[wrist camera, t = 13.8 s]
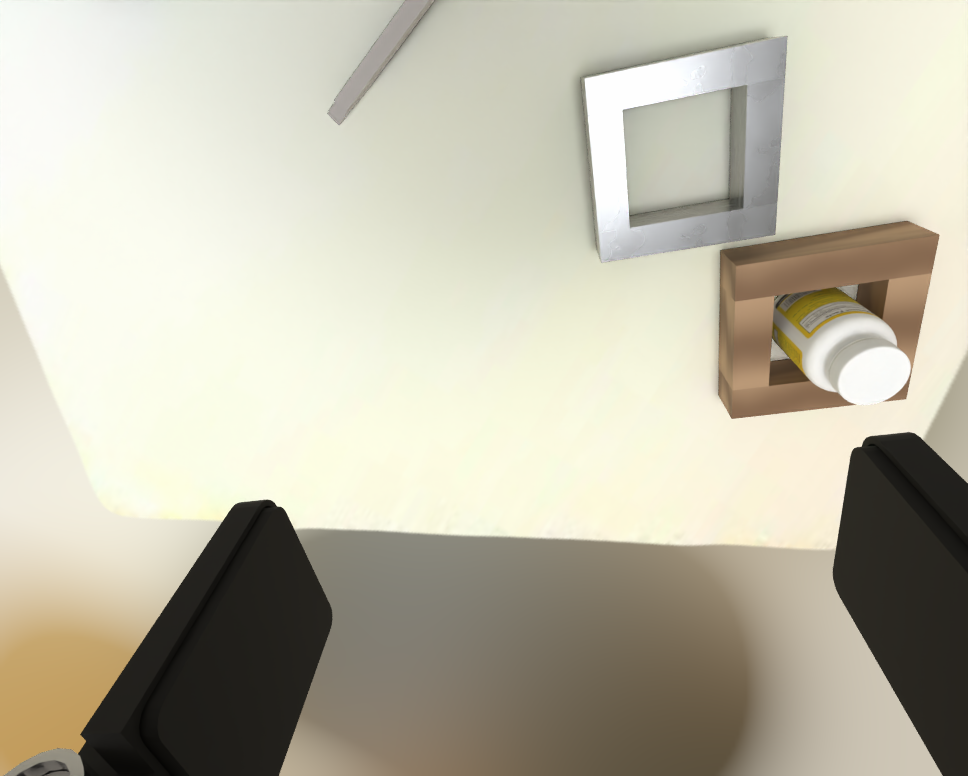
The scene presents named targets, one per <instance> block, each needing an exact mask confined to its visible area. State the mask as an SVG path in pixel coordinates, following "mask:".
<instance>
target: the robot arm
mask: <svg viewBox="0 0 968 776" xmlns="http://www.w3.org/2000/svg"><path fill="white" fill-rule="evenodd" d="M833 580H834V583H835V587H836V590H837V592H838V594H839V596H840V598H841V600H842V601H843V603H844V605H845V607H846V608H847V610H848V612H849V614H850V615H851V617H852V619H853V621H854V622H855V624H856V626H857V628H858V629H859V631H860V633H861V634H862V636H863V638H864V640H865V641H866V643H867V645H868V647H869V648H870V650H871V652H872V654H873V655H874V657H875V659H876V660H877V662H878V664H879V666H880V667H881V669H882V671H883V673H884V674H885V676H886V678H887V680H888V681H889V683H890V685H891V687H892V688H893V690H894V692H895V694H896V695H897V697H898V699H899V701H900V702H901V704H902V706H903V707H904V709H905V711H906V713H907V714H908V716H909V718H910V719H911V721H912V723H913V725H914V727H915V728H916V730H917V732H918V734H919V735H920V737H921V739H922V740H923V742H924V744H925V745H926V747H927V749H928V751H929V753H930V754H931V756H932V758H933V760H934V761H935V763H936V765H937V767H938V768H939V770H940V772H941V773H942V775H943V776H968V483H967V482H966V481H964V479H962V478H961V477H960V476H959V475H958V474H957V473H956V472H955V471H954V470H953V469H952V468H951V467H950V466H949V465H948V464H947V463H946V462H945V461H944V460H943V459H942V458H941V457H940V456H939V455H937V453H936V452H935V451H934V450H932V448H930V447H929V446H928V445H927V444H926V443H925V442H924V441H923V440H922V439H921V438H920V437H919V436H917V435H916V434H915V433H910V432H907V433H897V434H888V435H878V436H870V437H867V438H866V439H865V440H864V442H863V444H862V447H857V448H854V449H853V451H852V453H851V457H850V463H849V470H848V476H847V483H846V489H845V495H844V502H843V508H842V515H841V521H840V527H839V534H838V540H837V547H836V554H835V559H834V566H833ZM331 625H332V609H331V607H330V604H329V602H328V600H327V598H326V595H325V593H324V591H323V589H322V587H321V585H320V583H319V581H318V579H317V576H316V575H315V572H314V570H313V568H312V566H311V564H310V562H309V560H308V558H307V555H306V553H305V551H304V549H303V547H302V545H301V543H300V541H299V539H298V537H297V534H296V532H295V530H294V528H293V526H292V524H291V522H290V520H289V518H288V515H287V513H286V512H285V510H284V509H283V508H282V507H277V506H276V504H275V503H274V502H273V501H271V500H259V501H250V502H240V503H237V504H235V505H234V506H233V507H232V508H231V510H230V511H229V513H228V514H227V516H226V517H225V519H224V520H223V522H222V523H221V525H220V526H219V528H218V529H217V531H216V532H215V534H214V535H213V537H212V538H211V540H210V541H209V543H208V544H207V546H206V547H205V549H204V550H203V552H202V553H201V555H200V556H199V558H198V559H197V561H196V562H195V564H194V565H193V567H192V568H191V570H190V571H189V573H188V574H187V576H186V577H185V579H184V580H183V582H182V583H181V585H180V586H179V588H178V589H177V591H176V592H175V594H174V595H173V597H172V598H171V600H170V601H169V603H168V604H167V606H166V607H165V608H164V610H163V611H162V613H161V615H160V616H159V617H158V619H157V620H156V622H155V624H154V625H153V627H152V628H151V629H150V631H149V633H148V634H147V635H146V637H145V638H144V640H143V641H142V643H141V644H140V646H139V647H138V649H137V650H136V652H135V653H134V655H133V656H132V658H131V659H130V661H129V662H128V664H127V665H126V667H125V669H124V670H123V671H122V673H121V674H120V676H119V677H118V679H117V680H116V682H115V683H114V685H113V686H112V688H111V689H110V691H109V692H108V694H107V695H106V697H105V698H104V700H103V701H102V703H101V704H100V706H99V707H98V709H97V710H96V712H95V713H94V715H93V716H92V718H91V719H90V721H89V722H88V724H87V725H86V727H85V728H84V730H83V731H82V733H81V734H80V735H81V736H82V737H83V738H84V739H85V740H86V743H85V744H84V746H83V747H82V749H81V750H80V752H79V753H78V754H77V753H75V752H74V751H73V750H71V749H60V748H57V749H53V750H50V751H46V752H42V753H40V754H38V755H36V756H34V757H32V758H30V759H28V760H26V761H24V762H22V763H21V764H19V765H18V766H16V767H15V768H14V769H12V770H11V771H9V772H8V773H7V774H5V775H4V776H279V773H280V770H281V767H282V765H283V762H284V759H285V756H286V753H287V751H288V748H289V745H290V742H291V739H292V736H293V734H294V731H295V728H296V725H297V722H298V719H299V717H300V714H301V711H302V708H303V705H304V702H305V700H306V697H307V694H308V691H309V688H310V685H311V682H312V679H313V677H314V674H315V671H316V668H317V665H318V663H319V660H320V657H321V654H322V651H323V648H324V646H325V643H326V640H327V637H328V634H329V632H330V629H331Z"/></svg>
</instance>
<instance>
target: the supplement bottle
mask: <svg viewBox="0 0 968 776" xmlns="http://www.w3.org/2000/svg"><path fill="white" fill-rule="evenodd" d="M772 338H773V340H774V341H775V342H776V343H777V344H778V346H779V347H780V348H781V349H782V350H783V351H784V352H785V353H786V354H787V355H788V357H789V358H790V359H791V360H792V361H793V362H794V363H795V364H796V365H797V366H798V368H799V369H800V370H801V371H802V372H803V373H804V374H805V375H806V376H807V378H808V379H809V380H810V381H811V382H813V383H814V384H815V385H816V386H818V387H820V388H822V389H824V390H827V391H831V392H838V393H839V394H840V395H841V396H842V397H843V398H844V399H845V400H847V401H848V402H850V403H853V404H857V405H872V404H876V403H880V402H882V401H885V400H887V399H889V398H890V397H892V396H893V395H895V394H896V393H897V392H899V391H900V390H901V389H902V387H903V386H904V385H905V383H906V382H907V380H908V378H909V375H910V371H911V365H910V361H909V359H908V357H907V355H906V354H905V353H904V352H903V351H901V350H900V349H899V348H898V347H897V340H896V336H895V334H894V332H893V330H892V329H891V328H890V327H889V325H888V324H886V323H885V322H884V321H883V320H882V319H880V318H879V317H878V316H876V315H875V314H873V313H872V312H870V311H869V310H868V309H866V308H865V307H863V306H862V305H861V304H859V303H858V302H856V301H855V300H854V299H852V298H851V297H849V296H848V295H846V294H845V293H844V292H842V291H841V290H839V289H838V288H836V287H833V288H827V289H820V290H813V291H806V292H799V293H792V294H785V295H779V296H778V297H777V299H776V300H775V301H774V310H773V326H772Z"/></svg>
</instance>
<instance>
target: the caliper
mask: <svg viewBox="0 0 968 776" xmlns="http://www.w3.org/2000/svg"><path fill="white" fill-rule="evenodd" d="M433 2H434V0H405V1H404V3H403V4H402V6H401V7H400V8H399V10H398V11H397V13H396V14H395V15H394V17H393V18H392V20H391V21H390V22H389V24H388V25H387V27H386V28H385V29H384V31H383V32H382V34H381V35H380V36H379V38H378V39H377V41H376V42H375V43H374V45H373V46H372V48H371V49H370V50H369V52H368V53H367V55H366V56H365V57H364V59H363V60H362V62H361V63H360V64H359V66H358V67H357V69H356V70H355V71H354V73H353V74H352V76H351V77H350V78H349V80H348V81H347V83H346V84H345V86H344V87H343V88H342V90H341V91H340V93H339V94H338V95H337V97H336V98H335V100H334V101H335V102H334V104H333V105H332V107H331V108H330V109H329V112H328V113H327V114H328V115H329V116H330V117H331V118H332V119H333V120H334V121H335V122H336V123H337V124H338V125H340V124H341V123H342V121H343V120H344V119H345V117H346V116H347V115H348V113H349V112H350V111H351V110H352V109H353V108H354V106H355V105H356V104H357V103H358V101H359V100H360V99H361V98H362V96H363V95H364V94H365V93H366V91H367V90H368V89H369V87H370V86H371V85H372V83H373V82H374V81H375V79H376V78H377V77H378V75H379V74H380V73H381V71H382V70H383V69H384V67H385V66H386V65H387V63H388V62H389V61H390V59H391V58H392V57H393V55H394V54H395V53H396V51H397V50H398V48H399V47H400V46H401V44H402V43H403V42H404V40H405V39H406V38H407V36H408V35H409V34H410V32H411V31H412V30H413V28H414V27H415V26H416V24H417V23H418V22H419V20H420V19H421V18H422V16H423V15H424V14H425V12H426V11H427V10H428V8H429V7H430V6H431V4H432V3H433Z"/></svg>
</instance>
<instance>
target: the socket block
mask: <svg viewBox="0 0 968 776" xmlns="http://www.w3.org/2000/svg"><path fill="white" fill-rule="evenodd" d="M786 51H787V36H782V37H771V38H765V39H760V40H755V41H750V42H746V43H741V44H736V45H732V46H727V47H722V48H717V49H713V50H708V51H703V52H699V53H694V54H689V55H684V56H680V57H675V58H670V59H665V60H661V61H656V62H651V63H647V64H642V65H637V66H632V67H628V68H623V69H618V70H614V71H609V72H604V73H599V74H595V75H590V76H585V77H581V87H582V98H583V108H584V119H585V130H586V140H587V151H588V162H589V172H590V183H591V193H592V204H593V215H594V225H595V236H596V247H597V252H598V255H599V257H600V260H601V263H602V262H608V261H615V260H621V259H627V258H633V257H640V256H646V255H652V254H658V253H665V252H671V251H677V250H683V249H690V248H696V247H702V246H708V245H715V244H721V243H727V242H733V241H740V240H746V239H752V238H758V237H764V236H771V235H775V231H776V214H777V198H778V182H779V165H780V149H781V133H782V117H783V100H784V84H785V68H786ZM728 88H731V126H730V174H729V199H724V200H718V201H713V202H707V203H701V204H695V205H689V206H683V207H678V208H672V209H666V210H660V211H654V212H648V213H643V214H637V215H631V216H629V207H628V192H627V176H626V160H625V145H624V129H623V113H622V110H623V109H628V108H633V107H638V106H643V105H648V104H653V103H658V102H663V101H668V100H673V99H678V98H683V97H688V96H693V95H698V94H703V93H708V92H713V91H718V90H723V89H728Z"/></svg>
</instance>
